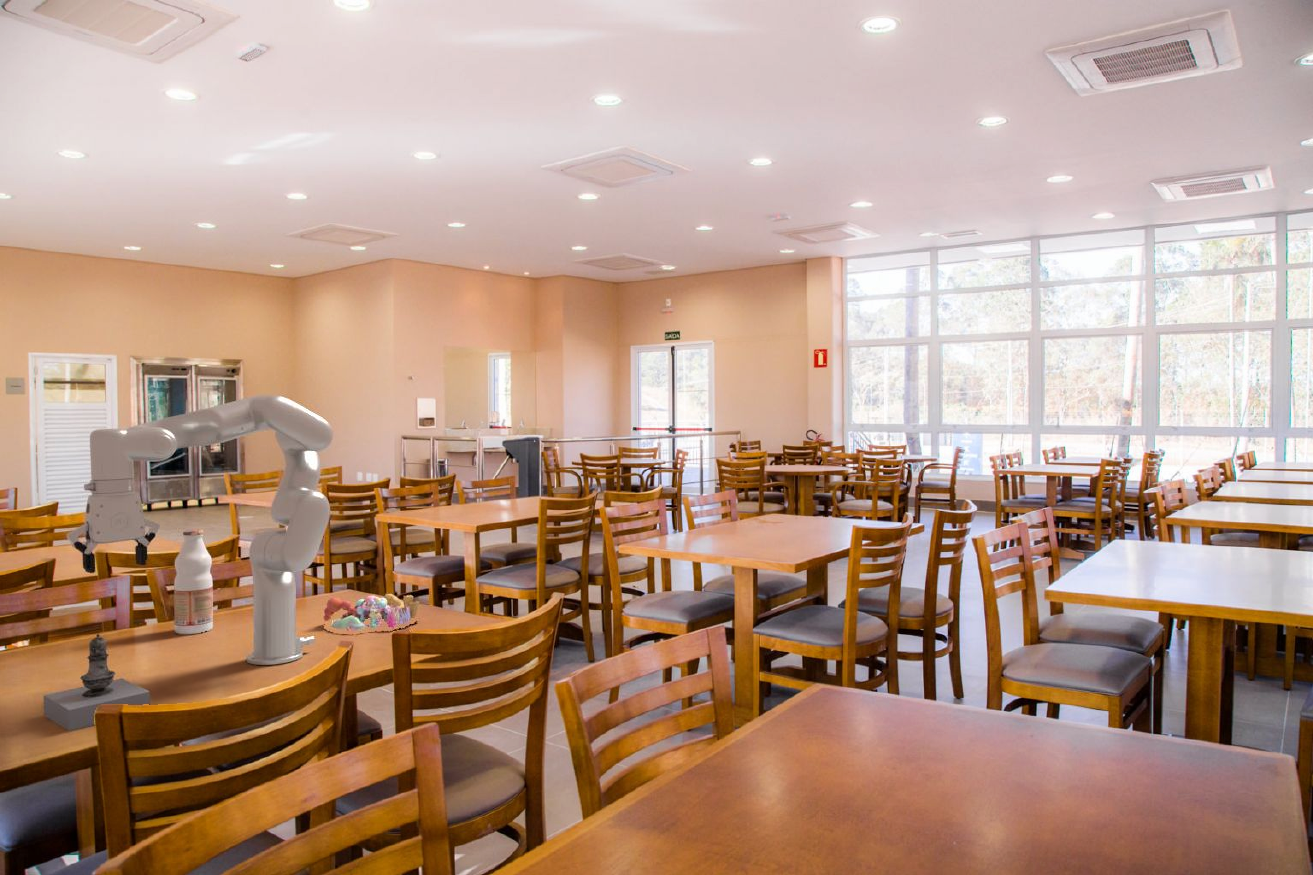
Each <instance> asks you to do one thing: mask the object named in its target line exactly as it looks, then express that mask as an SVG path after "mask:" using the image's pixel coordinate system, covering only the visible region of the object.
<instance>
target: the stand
mask: <svg viewBox="0 0 1313 875" xmlns="http://www.w3.org/2000/svg"><path fill="white" fill-rule="evenodd" d="M107 687H109V688H112V689H114V692H112V693H110V694H108V695H104V696H99V697H84V696H82V694H83V693H84V692H86V691H87V690H90V689H88V688H86V687H85V686H84V685H83V686H81V687H76V688H75V687H74V688H71V689H67V690H61V691H58V692H57V691H56V692H51V693H48V694H43V716H44V717H45V718H47V719H48V720H51V721H53V722H54V723H55V724H57V725H58V726H61V728H64V729H65V730H67V731H68V732H72V731H75V730H80V729H83V728H88V727H92V726H95V725H94V713H95V710H96V708H97V707H98V706H99V705H101V704H128V705H143V704H150V705H151V691H149V690H148V689H145V688H144V687H141V686H139V685H137V684H134V683H133V682H130V681H128V680H126V679H124V678H117V679H113V681H112V683H111V684H110V685H109V686H107Z"/></svg>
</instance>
